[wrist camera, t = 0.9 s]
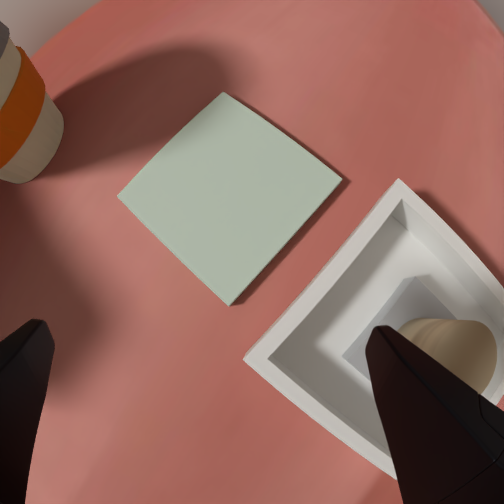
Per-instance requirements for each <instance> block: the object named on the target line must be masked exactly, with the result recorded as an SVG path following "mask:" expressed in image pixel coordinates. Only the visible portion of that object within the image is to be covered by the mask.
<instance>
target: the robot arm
mask: <svg viewBox="0 0 504 504" xmlns="http://www.w3.org/2000/svg"><path fill="white" fill-rule="evenodd" d="M54 349H55V344H54V340H53V338H52V335H51V333H50V330H49V328H48V326H47V323H46V322H45V321H44V320H40V319H31V320H30V321H28V322H27V323H25V324H24V325H23V326H21V327H20V328H19V329H17V330H16V331H15V332H13V333H12V334H10V335H9V336H8V337H6V338H5V339H4V340H2V341H1V342H0V504H25V498H26V490H27V483H28V476H29V470H30V464H31V459H32V453H33V448H34V443H35V438H36V434H37V429H38V425H39V421H40V416H41V412H42V408H43V404H44V400H45V396H46V392H47V386H48V380H49V375H50V369H51V364H52V359H53V354H54ZM365 356H366V360H367V365H368V370H369V375H370V380H371V385H372V390H373V395H374V399H375V403H376V407H377V410H378V413H379V416H380V420H381V423H382V426H383V430H384V433H385V437H386V440H387V443H388V447H389V451H390V454H391V458H392V461H393V465H394V469H395V473H396V476H397V480H398V484H399V488H400V492H401V496H402V500H403V504H504V411H502V410H501V409H500V408H498V407H497V406H495V405H494V404H493V403H491V402H490V401H489V400H487V399H486V398H485V397H484V396H482V395H481V394H478V392H477V391H476V390H474V389H473V388H472V387H470V386H469V385H468V384H467V383H465V382H464V381H463V380H461V379H460V378H459V377H457V376H456V375H455V374H453V373H452V372H451V371H449V370H448V369H447V368H445V367H444V366H443V365H442V364H440V363H439V362H438V361H436V360H435V359H434V358H432V357H431V356H430V355H428V354H427V353H426V352H424V351H423V350H422V349H420V348H419V347H418V346H416V345H415V344H414V343H412V342H411V341H409V340H408V339H407V338H405V337H404V336H403V335H401V334H400V333H399V332H397V331H396V330H395V329H393V328H392V327H391V326H389V325H378V326H375V327H374V328H373V329H372V332H371V334H370V337H369V339H368V342H367V344H366V347H365Z"/></svg>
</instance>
